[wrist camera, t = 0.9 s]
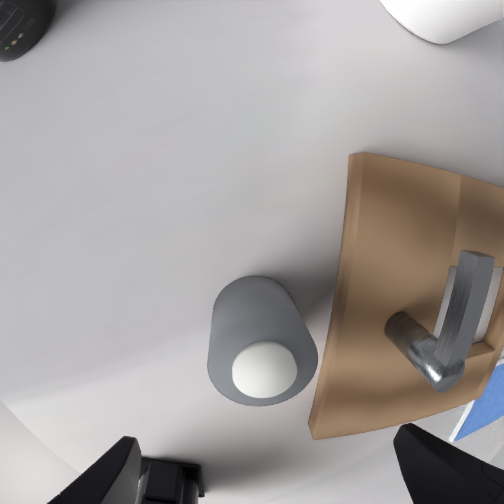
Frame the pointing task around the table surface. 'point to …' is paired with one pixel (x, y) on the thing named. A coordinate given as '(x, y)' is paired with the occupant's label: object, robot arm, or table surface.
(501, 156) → the table surface
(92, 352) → the table surface
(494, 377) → the tablet computer
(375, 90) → the table surface
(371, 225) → the base board
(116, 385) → the table surface
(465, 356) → the hook post
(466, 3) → the beverage can
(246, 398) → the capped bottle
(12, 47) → the supplement bottle
